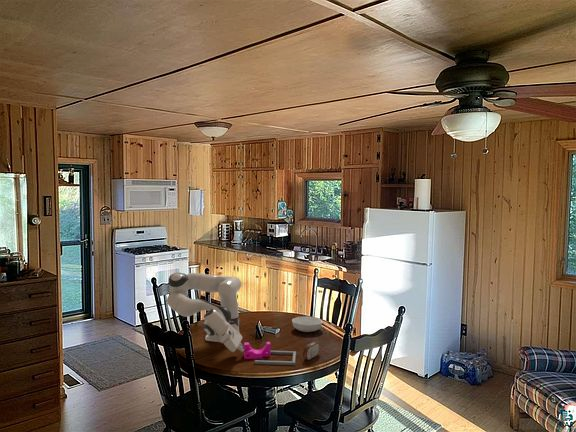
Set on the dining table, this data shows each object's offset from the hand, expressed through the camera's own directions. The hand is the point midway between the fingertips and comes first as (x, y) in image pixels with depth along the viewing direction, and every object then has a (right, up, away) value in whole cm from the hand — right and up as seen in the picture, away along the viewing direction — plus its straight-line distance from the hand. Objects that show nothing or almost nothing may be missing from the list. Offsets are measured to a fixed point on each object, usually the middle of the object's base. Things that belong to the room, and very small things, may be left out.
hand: (243, 350), depth 248 cm
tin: (+39, -5, +3) cm, 39 cm away
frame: (+18, -5, 0) cm, 19 cm away
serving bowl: (+38, -3, +53) cm, 66 cm away
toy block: (+7, -5, +3) cm, 10 cm away
